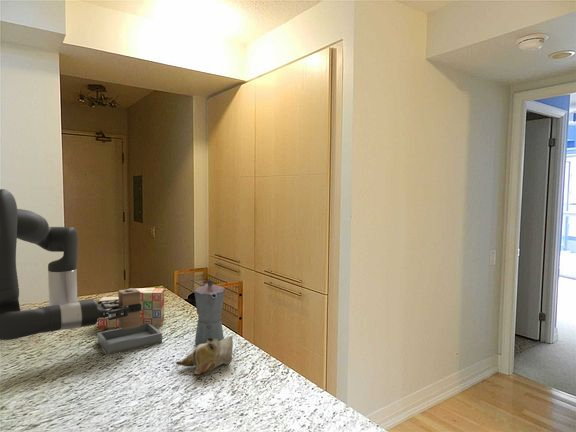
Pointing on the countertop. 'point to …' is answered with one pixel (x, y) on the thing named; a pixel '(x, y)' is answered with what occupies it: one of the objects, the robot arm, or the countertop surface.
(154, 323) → the stack of blocks
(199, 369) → the ceramic sculpture
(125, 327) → the walnut block
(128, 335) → the charcoal tray
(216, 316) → the moka pot
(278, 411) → the countertop surface
